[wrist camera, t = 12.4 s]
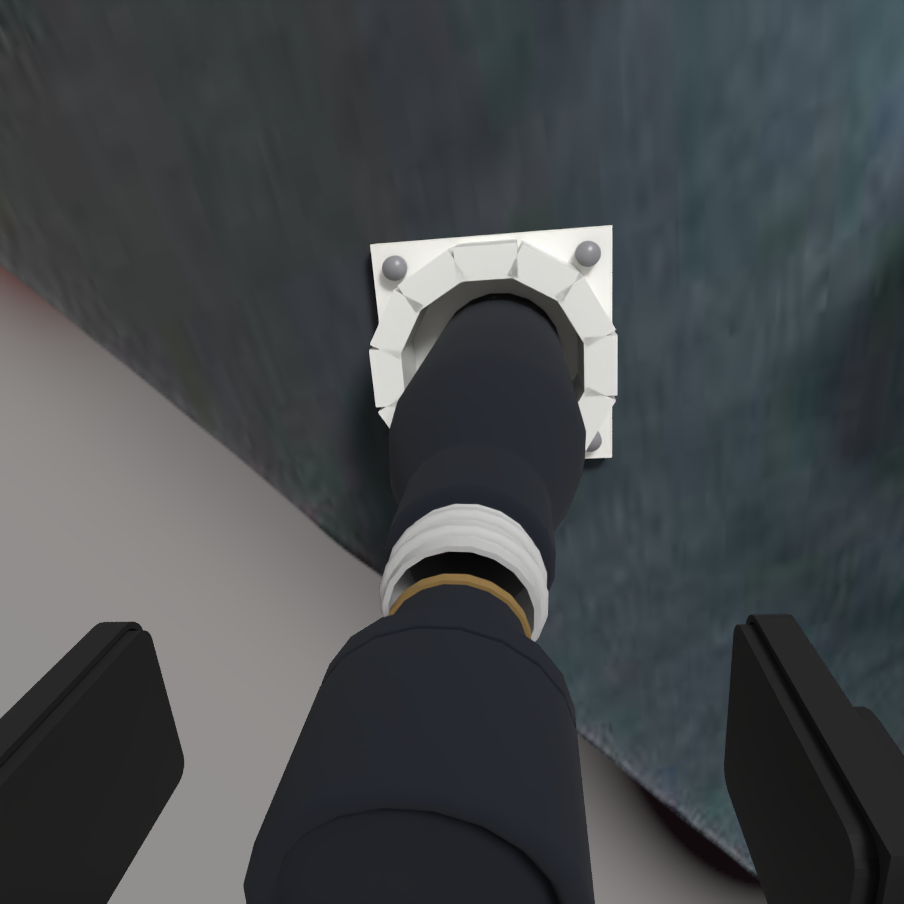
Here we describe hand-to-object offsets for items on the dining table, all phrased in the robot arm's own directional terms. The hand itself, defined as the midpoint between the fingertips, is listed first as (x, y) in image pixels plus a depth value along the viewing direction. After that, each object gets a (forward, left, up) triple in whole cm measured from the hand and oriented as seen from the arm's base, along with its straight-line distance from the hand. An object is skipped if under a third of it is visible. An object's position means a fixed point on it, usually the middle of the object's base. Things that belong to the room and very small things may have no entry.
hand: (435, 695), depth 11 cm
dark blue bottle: (0, 0, -26) cm, 27 cm away
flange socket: (0, 0, -27) cm, 27 cm away
